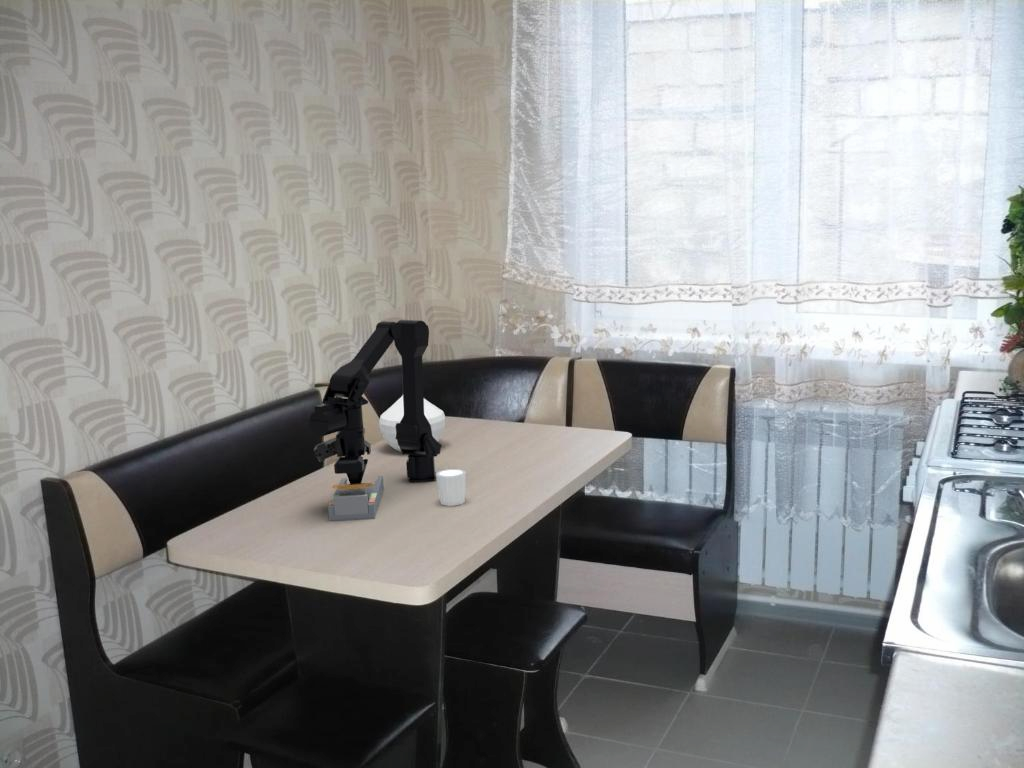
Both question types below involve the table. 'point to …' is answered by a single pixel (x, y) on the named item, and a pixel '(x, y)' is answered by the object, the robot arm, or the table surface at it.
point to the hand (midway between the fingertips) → (355, 493)
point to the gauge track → (356, 503)
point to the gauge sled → (353, 489)
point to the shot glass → (451, 486)
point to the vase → (396, 415)
